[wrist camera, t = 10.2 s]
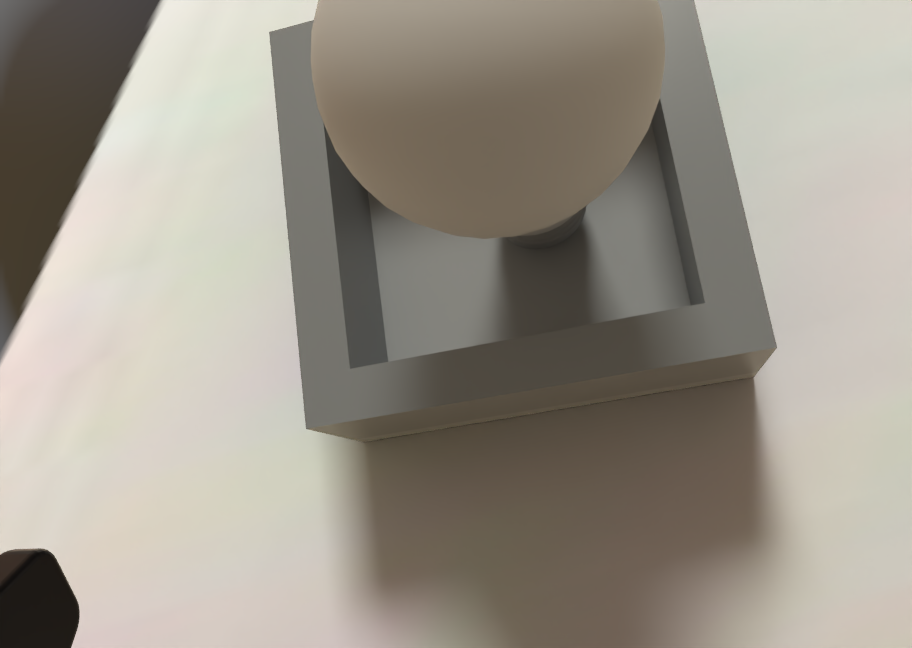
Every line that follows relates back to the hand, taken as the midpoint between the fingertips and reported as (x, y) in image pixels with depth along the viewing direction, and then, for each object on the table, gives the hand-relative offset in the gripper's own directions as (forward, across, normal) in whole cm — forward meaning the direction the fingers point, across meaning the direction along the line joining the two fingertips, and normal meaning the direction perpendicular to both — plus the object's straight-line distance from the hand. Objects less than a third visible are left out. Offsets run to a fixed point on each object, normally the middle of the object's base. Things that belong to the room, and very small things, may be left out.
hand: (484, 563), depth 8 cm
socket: (+16, 0, +3) cm, 16 cm away
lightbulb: (+15, 0, +3) cm, 15 cm away
